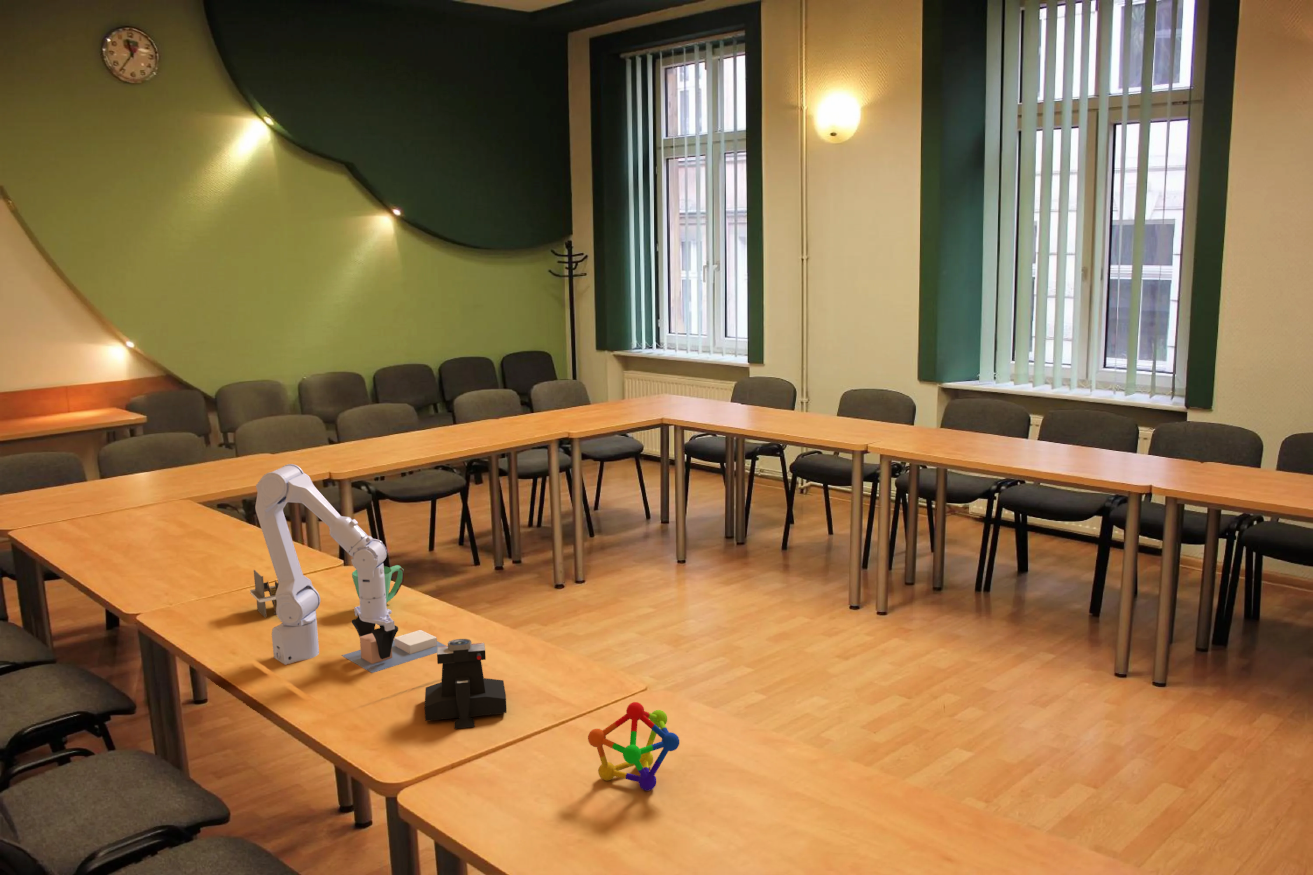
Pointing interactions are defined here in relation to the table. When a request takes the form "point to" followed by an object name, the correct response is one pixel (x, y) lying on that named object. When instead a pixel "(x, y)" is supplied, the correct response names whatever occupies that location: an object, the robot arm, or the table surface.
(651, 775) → the educational toy
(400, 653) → the board
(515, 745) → the table surface
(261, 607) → the architectural model
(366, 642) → the terracotta block
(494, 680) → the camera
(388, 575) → the mug
